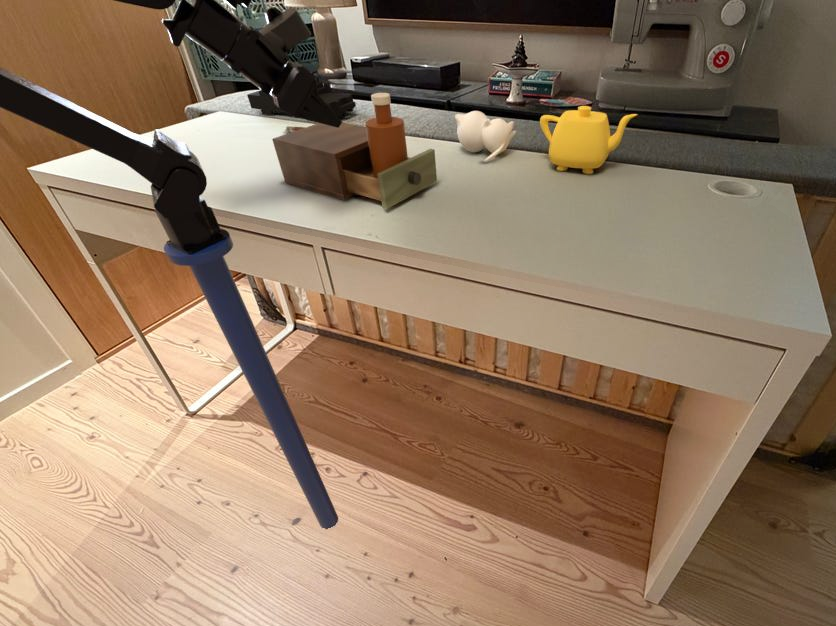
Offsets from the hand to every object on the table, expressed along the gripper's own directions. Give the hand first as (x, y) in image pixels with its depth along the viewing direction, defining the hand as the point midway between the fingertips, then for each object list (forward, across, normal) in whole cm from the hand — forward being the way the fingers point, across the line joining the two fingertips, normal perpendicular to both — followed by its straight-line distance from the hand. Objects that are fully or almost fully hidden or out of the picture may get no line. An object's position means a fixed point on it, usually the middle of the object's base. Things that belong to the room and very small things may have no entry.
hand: (331, 117), depth 73 cm
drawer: (+14, +1, +4) cm, 14 cm away
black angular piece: (+16, +61, +3) cm, 63 cm away
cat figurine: (+33, +8, -13) cm, 36 cm away
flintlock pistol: (+14, +36, +5) cm, 39 cm away
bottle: (+14, -1, +2) cm, 15 cm away
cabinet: (+11, +10, +8) cm, 17 cm away
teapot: (+42, -10, -22) cm, 48 cm away
